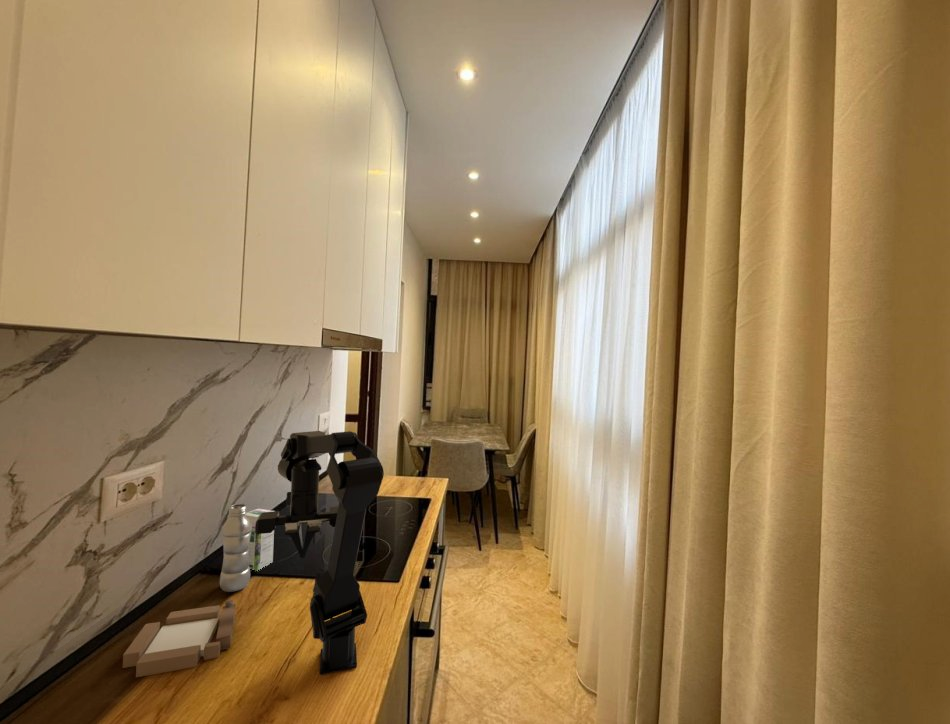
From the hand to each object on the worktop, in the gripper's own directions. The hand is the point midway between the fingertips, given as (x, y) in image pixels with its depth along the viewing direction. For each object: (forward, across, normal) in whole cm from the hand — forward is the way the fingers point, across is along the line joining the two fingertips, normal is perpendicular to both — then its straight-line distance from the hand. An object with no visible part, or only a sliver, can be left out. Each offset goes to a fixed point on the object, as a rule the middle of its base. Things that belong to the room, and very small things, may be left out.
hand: (302, 557), depth 91 cm
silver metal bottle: (+12, +16, -14) cm, 25 cm away
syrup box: (+12, +13, -25) cm, 31 cm away
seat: (+12, +21, +5) cm, 25 cm away
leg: (+12, +14, +4) cm, 19 cm away
